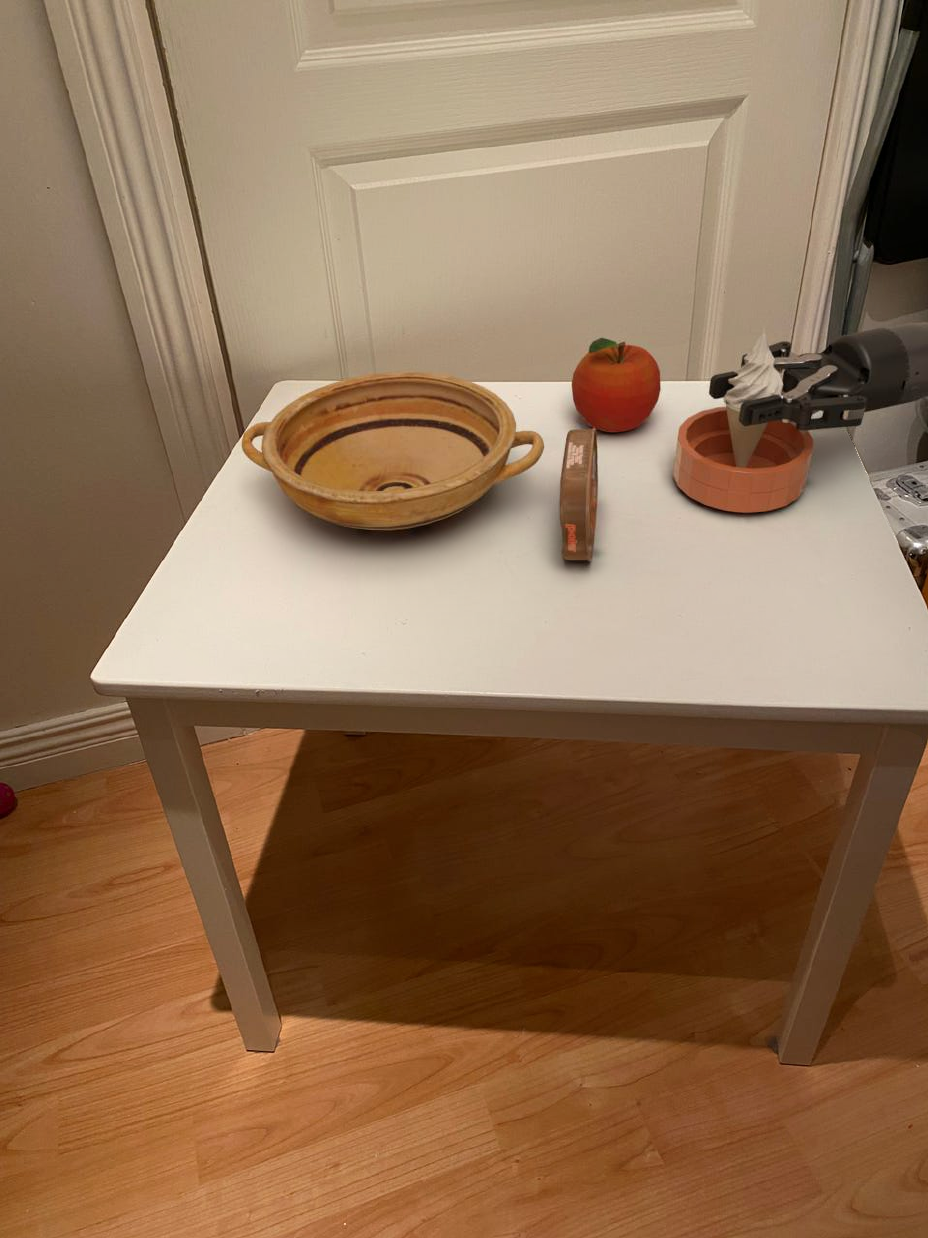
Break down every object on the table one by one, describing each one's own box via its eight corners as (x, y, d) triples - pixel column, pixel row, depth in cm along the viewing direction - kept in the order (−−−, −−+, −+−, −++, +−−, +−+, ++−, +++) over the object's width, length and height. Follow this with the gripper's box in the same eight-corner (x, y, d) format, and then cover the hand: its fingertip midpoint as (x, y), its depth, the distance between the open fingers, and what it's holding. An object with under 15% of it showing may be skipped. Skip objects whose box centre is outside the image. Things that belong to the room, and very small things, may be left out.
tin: (590, 580, 83) (594, 500, 77) (554, 578, 83) (556, 498, 78) (599, 487, 94) (603, 411, 88) (567, 485, 94) (569, 410, 89)
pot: (820, 468, 95) (830, 424, 91) (778, 531, 87) (788, 486, 84) (701, 438, 100) (707, 395, 97) (652, 495, 92) (657, 451, 89)
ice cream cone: (771, 486, 91) (798, 339, 81) (718, 488, 91) (739, 342, 81) (760, 459, 95) (784, 315, 85) (709, 461, 95) (728, 318, 85)
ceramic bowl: (215, 563, 87) (195, 491, 82) (290, 432, 105) (277, 366, 100) (531, 581, 83) (531, 506, 78) (553, 442, 101) (554, 373, 96)
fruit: (674, 431, 101) (684, 344, 95) (596, 452, 99) (601, 364, 92) (630, 394, 108) (636, 310, 102) (555, 413, 106) (557, 328, 99)
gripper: (849, 302, 93) (693, 332, 90) (946, 361, 82) (774, 398, 79) (833, 372, 98) (685, 403, 95) (923, 436, 87) (760, 474, 84)
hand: (727, 400), depth 87 cm, fingers closed on ice cream cone, 5 cm apart
